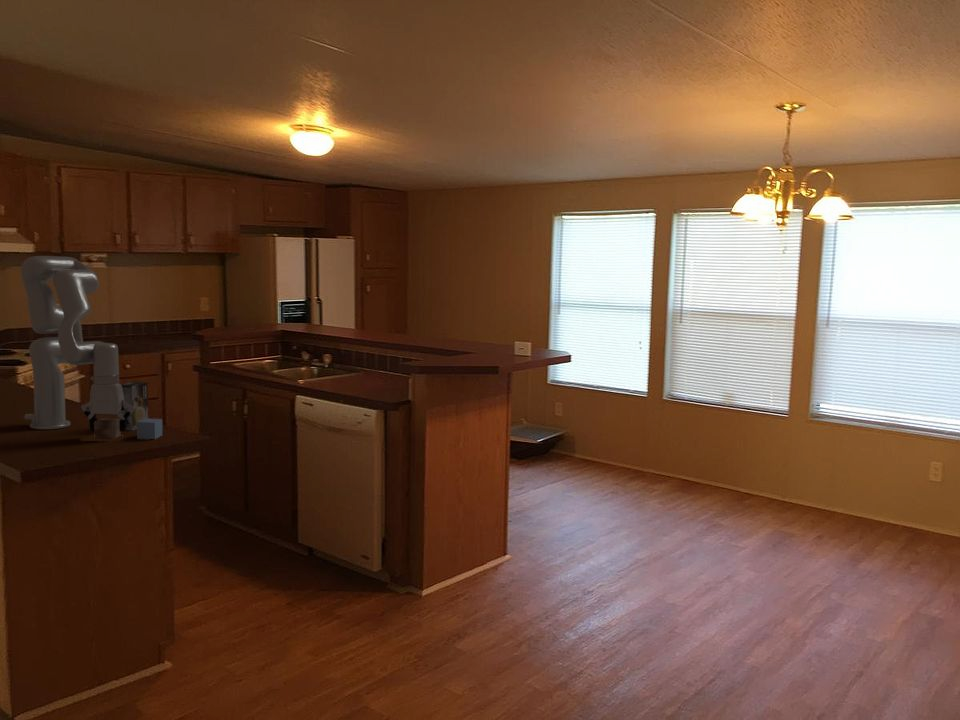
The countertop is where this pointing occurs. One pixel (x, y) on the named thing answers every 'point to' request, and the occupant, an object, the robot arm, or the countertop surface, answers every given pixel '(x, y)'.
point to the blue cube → (149, 428)
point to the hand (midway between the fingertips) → (108, 430)
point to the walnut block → (106, 429)
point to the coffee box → (136, 402)
